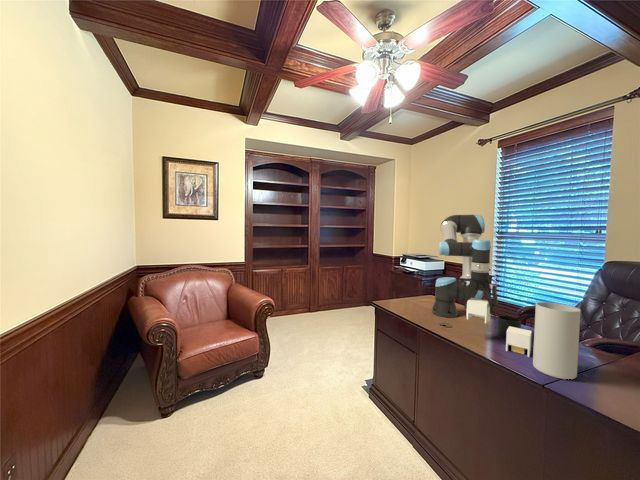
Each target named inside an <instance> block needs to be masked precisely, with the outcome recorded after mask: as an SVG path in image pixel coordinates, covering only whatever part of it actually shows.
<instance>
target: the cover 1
mask: <svg viewBox="0 0 640 480" xmlns="http://www.w3.org/2000/svg"><path fill="white" fill-rule="evenodd" d="M488 306H490V305H489V303H488V301H487V299H476V298H471V299H469V300H468V301H467V309H466V313H467V316H466V320H469V319H470V318H472V317H476V318H480V319H484V324H487V323H488V322H489V321H488V320H487V319H488Z"/></svg>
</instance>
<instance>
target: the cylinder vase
mask: <svg viewBox="0 0 640 480" xmlns="http://www.w3.org/2000/svg"><path fill="white" fill-rule="evenodd" d="M534 312H535V315H534V332H533V333H534V336H533V350H532V351H533V352H532V353H533V354H532V365H533V368H535V370H537V371H538V372H540V373H542V374H545V375H547V376H549V377H551V378H556V379H560V380H566V379H568V380H569V379H571V380H574V379H576V378H577V377H578V363H579V359H578V358H579V344H580V327H581V325H580V323H581V309H580V308H578V307H575V306H573V305H567V304H564V303H563V304H562V303H559V302H551V301H549V302H548V301H538V302H537V301H536V302H535V311H534ZM568 380H567V381H568ZM569 381H570V380H569Z"/></svg>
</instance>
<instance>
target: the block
mask: <svg viewBox="0 0 640 480" xmlns="http://www.w3.org/2000/svg"><path fill="white" fill-rule="evenodd" d="M510 349H511V352H514V353H518V354H521V355H525V353H526V350H525V348H521V347H517V346H513V345H512V346H511V348H510Z"/></svg>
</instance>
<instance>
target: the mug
mask: <svg viewBox="0 0 640 480" xmlns="http://www.w3.org/2000/svg"><path fill="white" fill-rule="evenodd" d="M509 326H511V327H515V328H520V329H522V328H521V327H522V325H521V319H519V318H517V317H515V316H511V315H498V316H497V330H496V332H497V335H499V336H500V337H503V338H505V339H506V333H507V329H508V327H509Z"/></svg>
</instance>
